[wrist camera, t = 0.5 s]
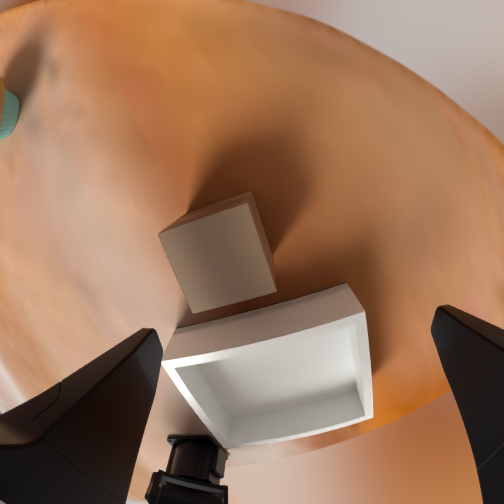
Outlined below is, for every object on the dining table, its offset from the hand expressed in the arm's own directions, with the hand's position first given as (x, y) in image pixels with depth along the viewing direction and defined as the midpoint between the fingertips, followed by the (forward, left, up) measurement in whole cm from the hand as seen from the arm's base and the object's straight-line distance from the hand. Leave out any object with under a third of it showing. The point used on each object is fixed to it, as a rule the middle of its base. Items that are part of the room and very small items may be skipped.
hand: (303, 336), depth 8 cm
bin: (-3, -12, -13) cm, 18 cm away
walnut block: (-3, +1, -13) cm, 13 cm away
